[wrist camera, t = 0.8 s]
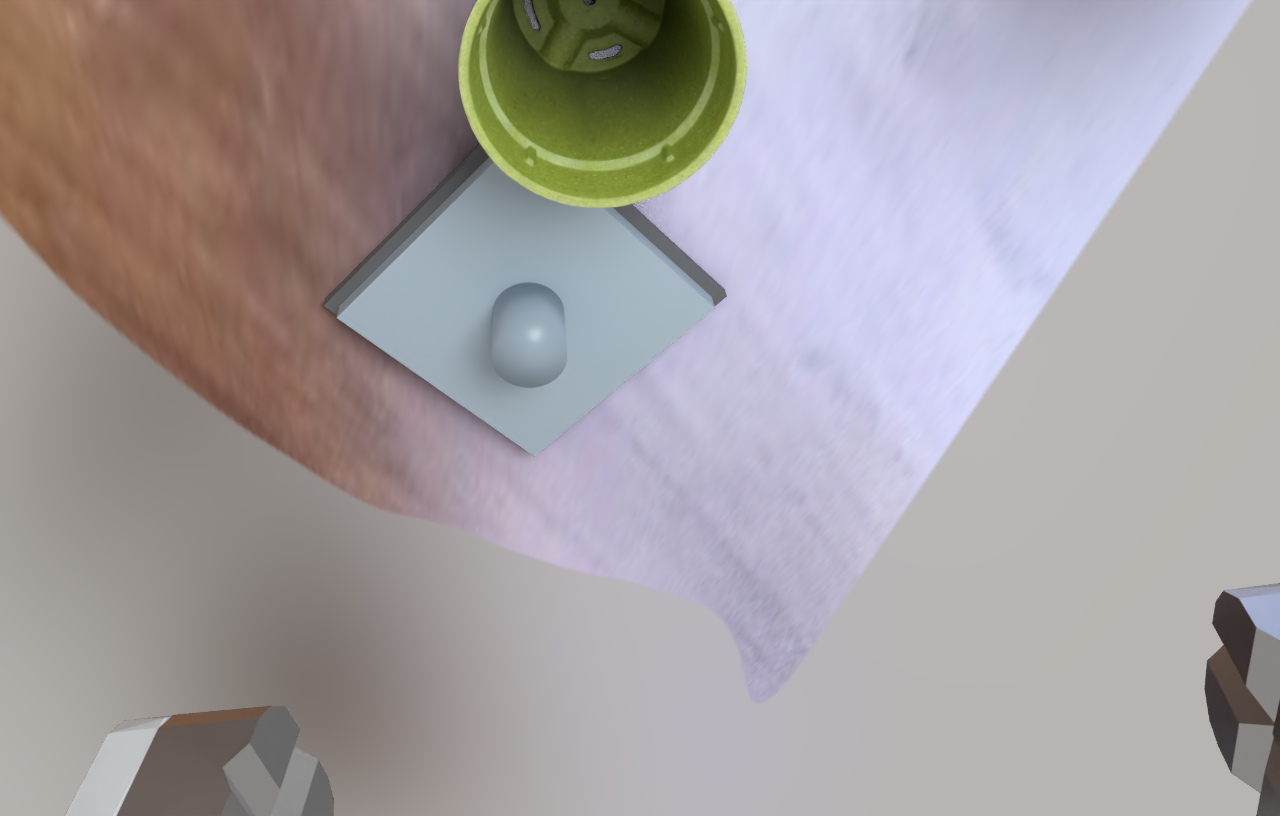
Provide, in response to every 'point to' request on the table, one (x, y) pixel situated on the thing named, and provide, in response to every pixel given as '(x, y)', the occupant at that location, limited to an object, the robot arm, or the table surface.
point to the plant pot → (602, 93)
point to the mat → (454, 183)
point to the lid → (524, 305)
